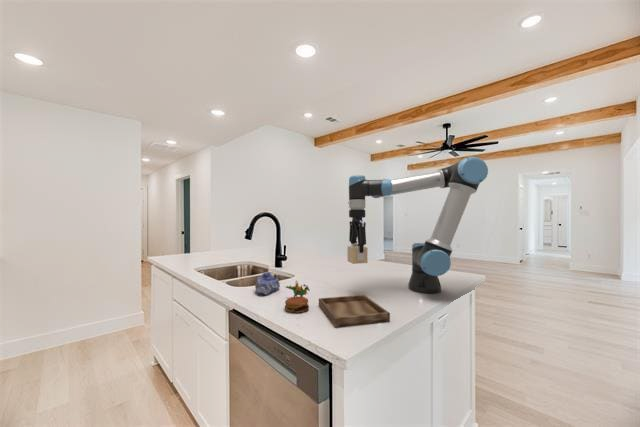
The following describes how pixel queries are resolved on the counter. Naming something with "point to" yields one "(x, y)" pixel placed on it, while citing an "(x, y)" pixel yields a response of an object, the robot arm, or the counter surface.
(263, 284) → the mineral
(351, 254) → the tan block
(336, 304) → the tray
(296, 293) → the figurine
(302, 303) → the burger
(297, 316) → the counter surface
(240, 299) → the counter surface
